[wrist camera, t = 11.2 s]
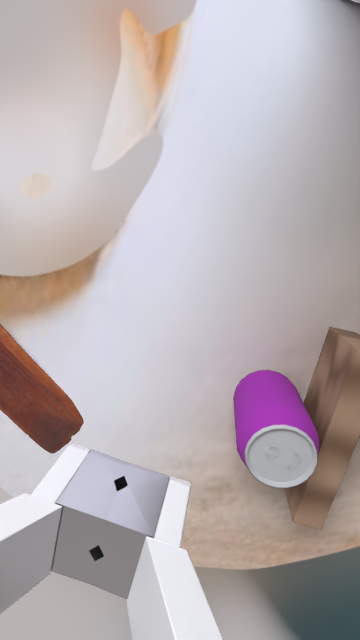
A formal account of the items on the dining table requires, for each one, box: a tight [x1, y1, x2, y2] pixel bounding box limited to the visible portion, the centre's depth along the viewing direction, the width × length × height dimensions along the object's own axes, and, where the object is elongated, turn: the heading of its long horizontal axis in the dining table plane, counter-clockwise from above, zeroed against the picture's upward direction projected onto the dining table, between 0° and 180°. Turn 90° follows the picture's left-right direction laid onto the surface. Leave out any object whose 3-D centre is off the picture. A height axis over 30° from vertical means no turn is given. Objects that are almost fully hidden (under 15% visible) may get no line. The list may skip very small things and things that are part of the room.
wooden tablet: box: [0, 325, 84, 453], centre depth 44 cm, size 27×10×2 cm, turn 40°
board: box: [285, 327, 360, 530], centre depth 36 cm, size 20×3×8 cm, turn 168°
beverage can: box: [234, 370, 319, 488], centre depth 35 cm, size 8×8×12 cm
